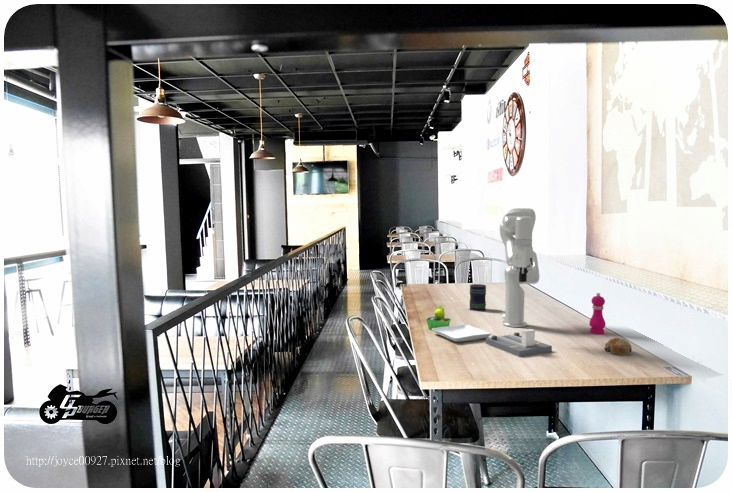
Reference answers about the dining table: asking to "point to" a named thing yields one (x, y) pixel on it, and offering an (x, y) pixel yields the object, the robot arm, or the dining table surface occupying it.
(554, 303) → the dining table surface
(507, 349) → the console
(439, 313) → the fruit basket
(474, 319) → the dining table surface
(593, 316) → the pepper mill
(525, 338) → the block
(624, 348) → the bread roll
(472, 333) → the salad plate
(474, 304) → the storage jar
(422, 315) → the dining table surface
